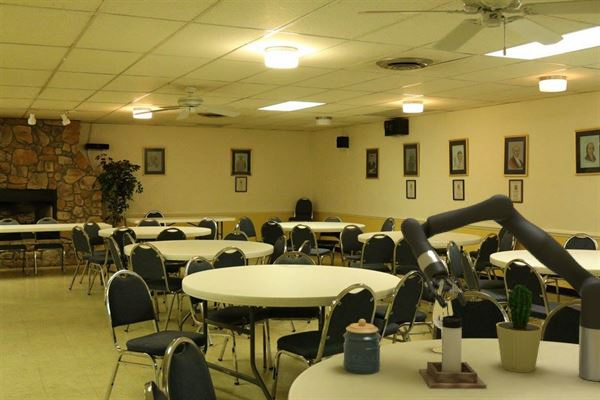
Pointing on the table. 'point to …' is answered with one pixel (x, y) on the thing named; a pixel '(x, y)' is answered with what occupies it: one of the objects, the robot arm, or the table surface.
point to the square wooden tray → (451, 377)
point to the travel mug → (451, 344)
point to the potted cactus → (519, 334)
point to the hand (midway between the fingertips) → (455, 305)
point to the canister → (361, 348)
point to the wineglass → (441, 317)
